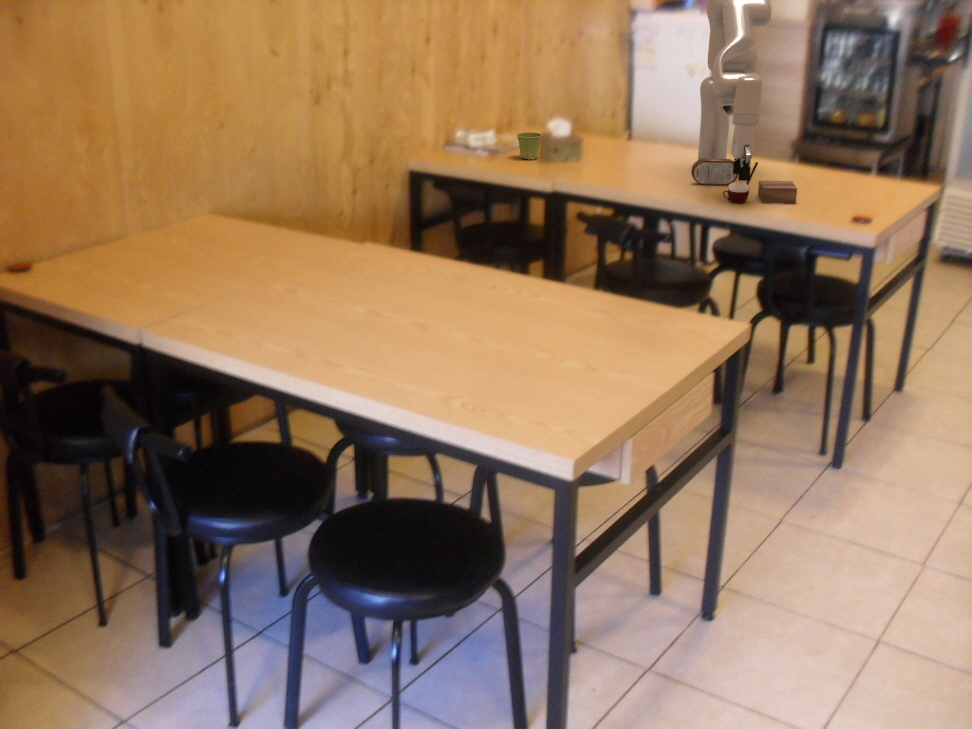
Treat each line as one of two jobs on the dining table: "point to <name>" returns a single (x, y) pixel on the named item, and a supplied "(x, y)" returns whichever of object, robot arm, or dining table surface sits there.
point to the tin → (713, 171)
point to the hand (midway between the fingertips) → (740, 177)
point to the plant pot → (529, 144)
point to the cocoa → (739, 189)
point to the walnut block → (777, 192)
